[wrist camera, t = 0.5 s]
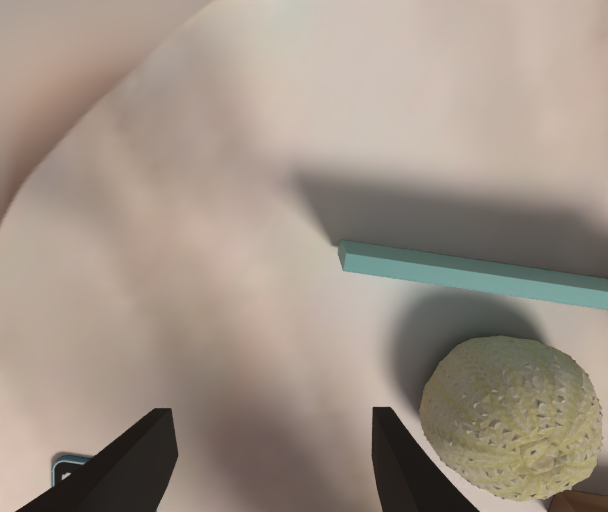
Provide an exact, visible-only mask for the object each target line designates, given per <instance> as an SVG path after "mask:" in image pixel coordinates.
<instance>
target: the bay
mask: <svg viewBox="0 0 608 512" xmlns="http://www.w3.org/2000/svg"><path fill="white" fill-rule="evenodd" d="M548 512H608V496H602V495H595V494H589V493H583V492H576V491H570V490H563V492H558V493H556V494H555V495H554V498H553V500H552V503H551V506H550V508H549V511H548Z"/></svg>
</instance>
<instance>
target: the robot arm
mask: <svg viewBox="0 0 608 512" xmlns="http://www.w3.org/2000/svg"><path fill="white" fill-rule="evenodd" d="M177 458H178V450H177V443H176V436H175V430H174V423H173V417H172V410H171V408H155V409H153V410H152V411H150V412H149V413H148V414H147V415H145V416H144V417H143V418H142V419H140V420H139V421H138V422H137V423H135V424H134V425H133V426H132V427H130V428H129V429H128V430H127V431H125V432H124V433H123V434H122V435H121V436H119V437H118V438H117V439H115V440H114V441H113V442H112V443H110V444H109V445H108V446H107V447H105V448H104V449H103V450H102V451H100V452H99V453H98V454H97V455H95V456H94V457H93V458H91V459H90V460H89V461H87V462H86V463H85V464H83V465H82V466H81V467H79V468H78V469H77V470H75V471H74V472H73V473H71V474H70V475H69V476H67V477H66V478H65V479H63V480H62V481H60V482H59V483H57V484H56V485H55V486H53V487H52V488H50V489H49V490H47V491H46V492H44V493H43V494H41V495H40V496H38V497H37V498H35V499H34V500H32V501H31V502H29V503H28V504H26V505H25V506H23V507H22V508H20V509H19V510H17V511H15V512H155V511H156V509H157V507H158V505H159V503H160V501H161V499H162V497H163V495H164V492H165V490H166V488H167V486H168V483H169V480H170V478H171V475H172V472H173V469H174V467H175V464H176V461H177ZM372 461H373V467H374V473H375V479H376V485H377V490H378V494H379V498H380V502H381V506H382V510H383V512H480V511H479V510H478V509H477V508H476V507H474V506H473V505H472V504H471V503H470V502H469V501H468V500H467V499H466V498H465V497H464V496H463V495H462V493H461V492H460V491H459V490H458V489H457V488H456V487H455V486H454V485H453V484H452V483H451V482H450V481H449V480H448V478H447V477H446V476H445V475H444V474H443V473H442V472H441V471H440V470H439V468H438V467H437V466H436V465H435V464H434V463H433V461H432V460H431V459H430V458H429V457H428V455H427V454H426V453H425V452H424V450H423V449H422V448H421V447H420V446H419V444H418V443H417V442H416V441H415V439H414V438H413V437H412V435H411V434H410V433H409V431H408V430H407V429H406V427H405V426H404V425H403V423H402V422H401V420H400V419H399V418H398V416H397V415H396V413H395V412H394V410H393V409H392V408H391V407H373V417H372Z"/></svg>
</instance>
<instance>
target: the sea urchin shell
mask: <svg viewBox="0 0 608 512" xmlns="http://www.w3.org/2000/svg"><path fill="white" fill-rule="evenodd" d="M601 410H602V407H601V406H600V404H599V399H598V398H597V397H596V394H595V391H594V386H593V385H592V383H591V381H590V379H589V378H588V374H587V373H585V371H584V370H583V369H582V368H581V367H580V366H579V365H578V364H577V363H576V361H575V360H573V359H572V358H571V356H569V355H567V354H565V353H563V352H561V351H560V350H557V349H555V348H553V347H550V346H547V345H545V344H543V343H540V342H538V341H536V340H528V339H518V338H513V337H507V336H503V335H499V336H490V337H477V338H472V339H470V340H468V341H465V342H462V343H461V344H457V346H456V347H455V348H454V349H452V351H451V352H450V353H449V354H448V355H447V356H446V357H445V358H444V359H443V360H442V361H439V365H438V366H437V368H436V369H435V371H434V373H433V375H432V376H431V378H430V379H429V381H428V382H427V383H426V384H425V386H424V390H423V396H422V400H421V406H420V409H419V413H420V419H421V425H422V429H423V431H424V435H425V436H426V438H427V440H428V441H429V443H430V444H431V446H432V447H433V449H434V450H435V451H436V453H437V454H438V456H439V457H440V460H441V461H442V462H444V463H445V464H446V466H448V467H450V468H451V469H452V470H454V471H456V472H457V473H458V474H460V475H461V477H463V478H464V479H466V480H467V481H468V482H470V483H471V484H472V485H475V486H477V487H478V488H481V489H484V490H486V491H488V492H490V493H492V494H494V495H495V496H499V497H501V498H502V499H506V498H507V499H511V500H514V501H519V502H521V501H527V500H532V499H543V500H545V499H548V498H549V497H551V496H552V495H554V494H556V493H558V492H563V490H566V489H567V490H571V489H572V486H573V485H575V484H576V483H578V482H580V481H583V480H584V479H586V478H588V477H589V476H590V474H591V473H592V471H593V470H594V467H595V466H597V455H598V453H599V451H601V450H600V447H601V446H602V445H603V444H602V443H601V440H602V439H603V437H602V429H601V427H602V421H601V417H602V416H603V415H602V413H601Z"/></svg>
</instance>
